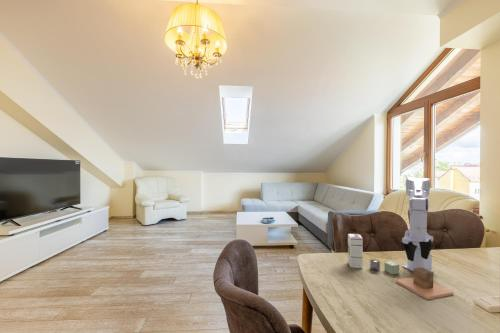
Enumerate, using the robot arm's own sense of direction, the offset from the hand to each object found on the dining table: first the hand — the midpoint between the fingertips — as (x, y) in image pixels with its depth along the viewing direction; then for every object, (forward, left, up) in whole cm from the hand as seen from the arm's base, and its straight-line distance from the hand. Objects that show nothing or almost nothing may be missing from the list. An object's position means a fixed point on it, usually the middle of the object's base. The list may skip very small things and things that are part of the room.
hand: (417, 259), depth 98 cm
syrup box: (+14, -20, -10) cm, 26 cm away
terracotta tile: (+2, +4, -9) cm, 11 cm away
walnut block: (+2, +4, -8) cm, 10 cm away
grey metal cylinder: (+8, -14, -10) cm, 19 cm away
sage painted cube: (+2, -10, -10) cm, 14 cm away
